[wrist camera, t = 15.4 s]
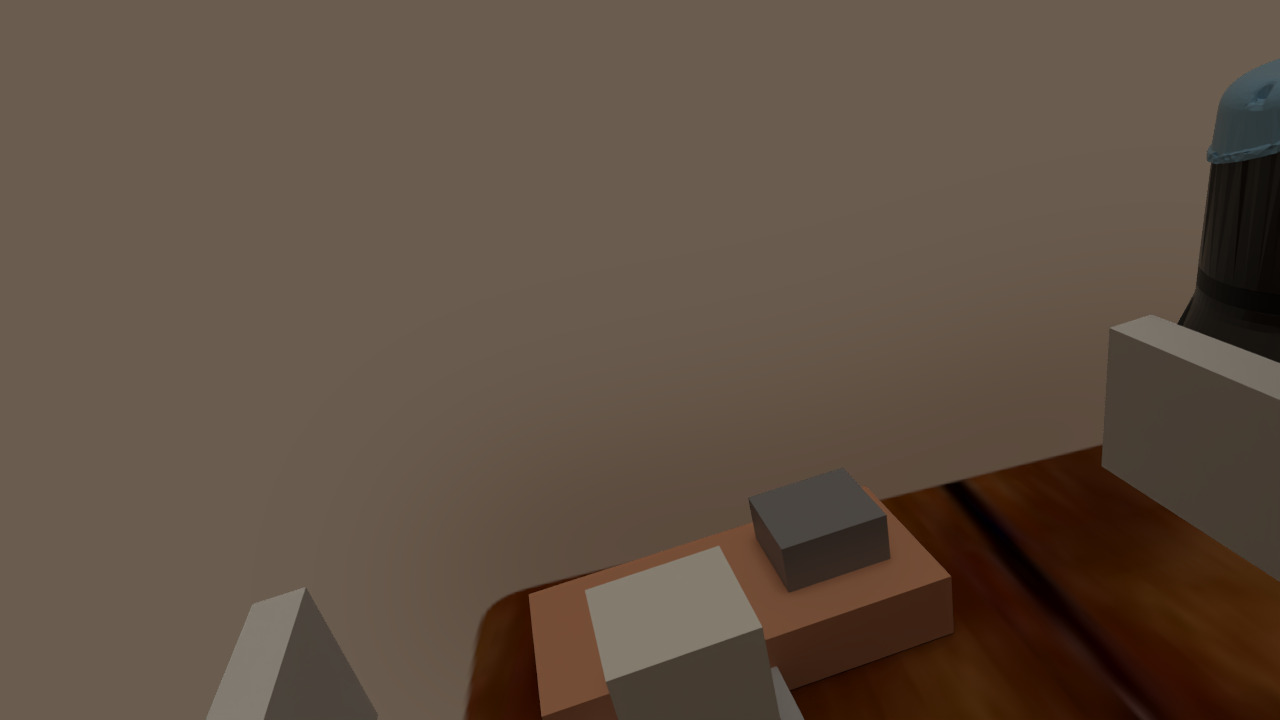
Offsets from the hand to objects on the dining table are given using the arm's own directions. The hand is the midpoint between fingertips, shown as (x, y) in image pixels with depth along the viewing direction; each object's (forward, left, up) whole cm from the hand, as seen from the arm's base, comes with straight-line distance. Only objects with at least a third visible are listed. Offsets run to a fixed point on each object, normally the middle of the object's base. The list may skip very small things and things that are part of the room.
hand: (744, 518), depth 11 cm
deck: (-3, -18, -25) cm, 31 cm away
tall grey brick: (+1, -13, -25) cm, 28 cm away
